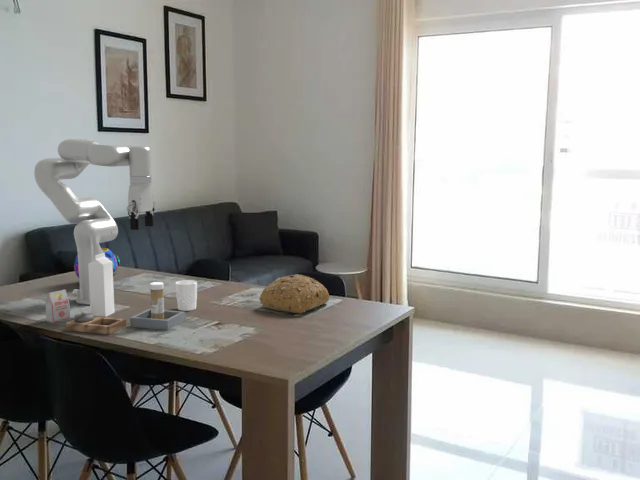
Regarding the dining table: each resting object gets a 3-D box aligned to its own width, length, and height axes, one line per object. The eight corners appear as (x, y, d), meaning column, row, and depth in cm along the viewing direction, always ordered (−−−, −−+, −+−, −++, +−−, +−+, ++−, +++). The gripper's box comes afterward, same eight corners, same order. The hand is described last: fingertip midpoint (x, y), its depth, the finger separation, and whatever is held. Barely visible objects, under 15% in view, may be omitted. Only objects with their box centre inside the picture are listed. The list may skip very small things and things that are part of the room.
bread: (301, 317, 232) (301, 284, 230) (253, 309, 243) (253, 277, 241) (337, 303, 252) (337, 272, 250) (291, 296, 263) (291, 267, 261)
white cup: (192, 311, 238) (192, 284, 237) (172, 310, 240) (171, 283, 239) (201, 306, 246) (200, 280, 245) (181, 305, 248) (180, 279, 246)
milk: (90, 316, 232) (86, 254, 229) (100, 311, 238) (96, 252, 235) (106, 317, 231) (102, 255, 228) (115, 312, 237) (112, 252, 233)
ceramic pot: (110, 288, 275) (109, 253, 273) (68, 288, 276) (66, 253, 273) (123, 279, 293) (122, 246, 290) (84, 279, 293) (82, 246, 291)
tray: (130, 326, 219) (130, 317, 219) (149, 317, 231) (148, 308, 230) (167, 330, 215) (167, 320, 215) (185, 320, 227) (184, 311, 226)
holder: (66, 330, 215) (65, 315, 214) (84, 322, 224) (83, 308, 223) (110, 334, 210) (109, 319, 210) (126, 326, 219) (125, 311, 219)
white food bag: (46, 320, 226) (44, 292, 225) (63, 316, 232) (62, 288, 230) (52, 322, 224) (51, 293, 223) (70, 318, 230) (68, 290, 228)
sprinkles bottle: (148, 321, 223) (146, 283, 221) (159, 319, 226) (158, 280, 224) (156, 324, 220) (155, 285, 218) (167, 321, 223) (166, 282, 221)
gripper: (144, 179, 245) (145, 224, 248) (117, 181, 229) (119, 230, 231) (162, 179, 243) (163, 225, 246) (136, 182, 227) (138, 231, 229)
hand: (142, 227), depth 239 cm, fingers open, 9 cm apart
